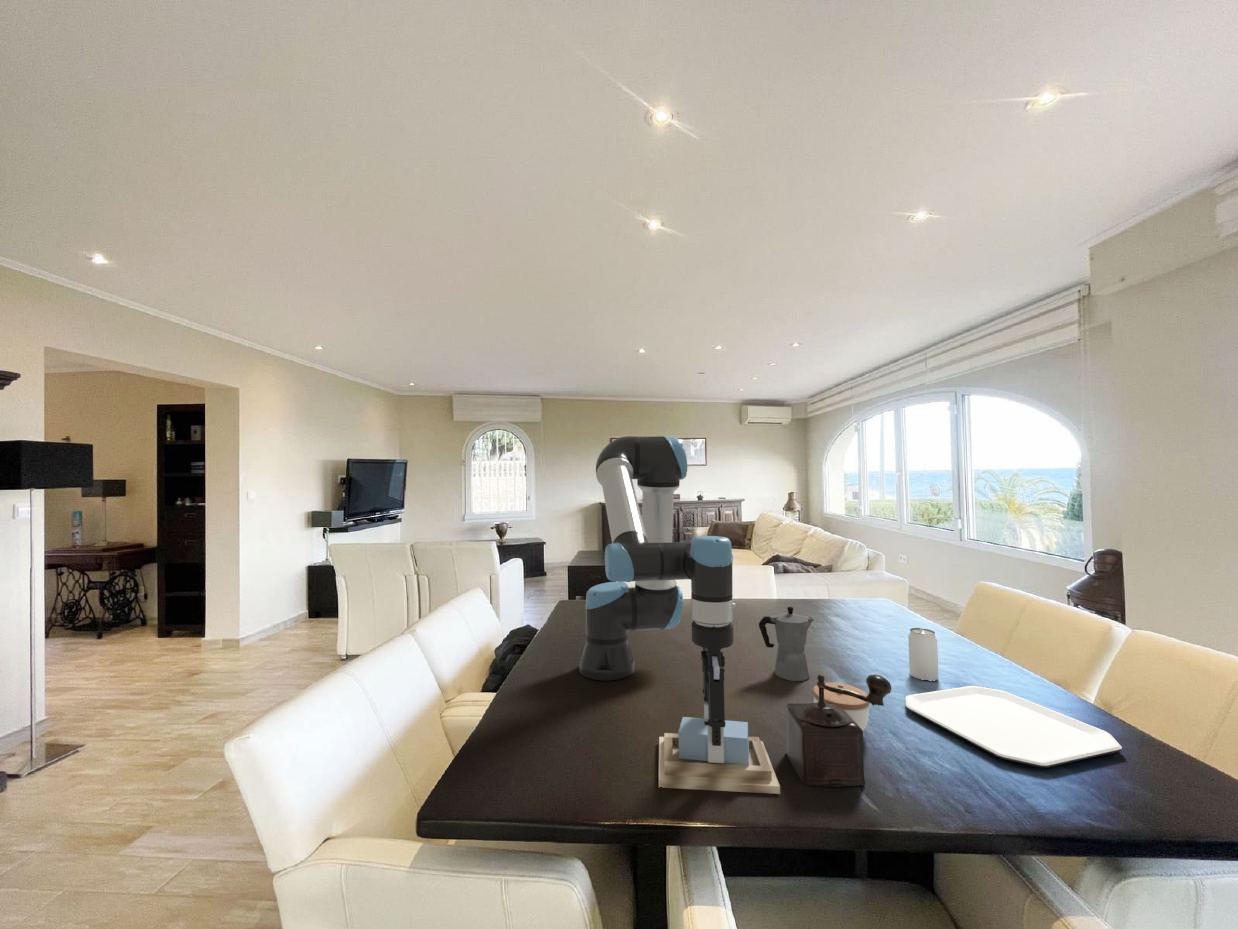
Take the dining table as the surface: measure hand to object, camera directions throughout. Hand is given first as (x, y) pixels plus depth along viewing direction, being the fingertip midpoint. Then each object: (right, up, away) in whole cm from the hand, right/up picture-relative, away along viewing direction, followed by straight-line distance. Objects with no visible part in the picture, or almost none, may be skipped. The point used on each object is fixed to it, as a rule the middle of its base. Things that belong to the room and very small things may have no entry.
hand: (713, 750), depth 87 cm
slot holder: (0, -3, 0) cm, 3 cm away
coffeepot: (+28, -5, +41) cm, 50 cm away
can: (+63, -5, +40) cm, 75 cm away
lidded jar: (+29, -4, +12) cm, 32 cm away
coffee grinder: (+22, -3, -1) cm, 22 cm away
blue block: (0, 0, 0) cm, 1 cm away
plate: (+63, -4, +13) cm, 65 cm away
